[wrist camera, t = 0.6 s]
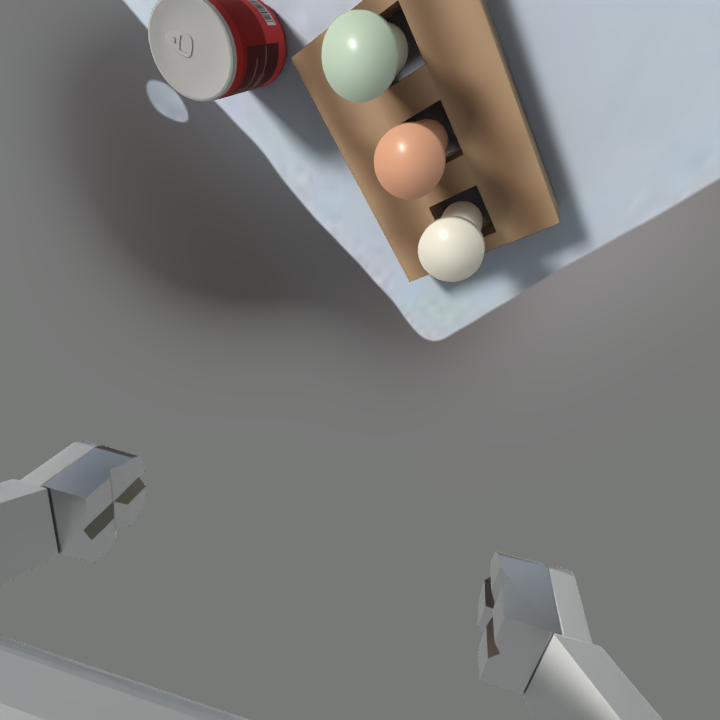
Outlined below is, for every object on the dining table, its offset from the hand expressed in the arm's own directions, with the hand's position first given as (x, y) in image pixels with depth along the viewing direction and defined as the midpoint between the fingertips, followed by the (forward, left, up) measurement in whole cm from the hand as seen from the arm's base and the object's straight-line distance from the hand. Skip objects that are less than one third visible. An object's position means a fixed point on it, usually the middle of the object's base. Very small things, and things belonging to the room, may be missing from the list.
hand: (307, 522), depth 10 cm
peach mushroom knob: (+4, -2, -40) cm, 40 cm away
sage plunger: (+4, -10, -40) cm, 41 cm away
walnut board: (+4, -2, -45) cm, 46 cm away
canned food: (+17, -18, -46) cm, 52 cm away
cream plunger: (+4, +6, -40) cm, 40 cm away
